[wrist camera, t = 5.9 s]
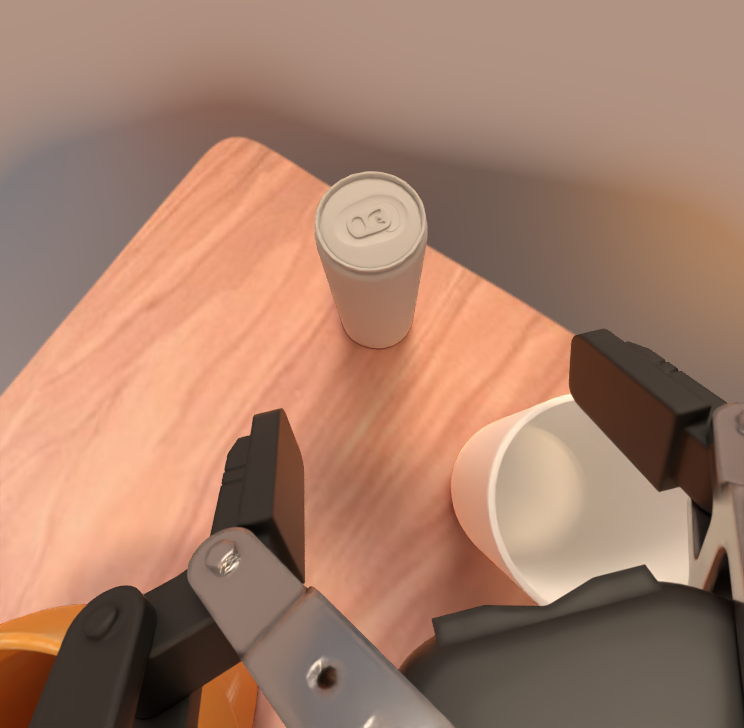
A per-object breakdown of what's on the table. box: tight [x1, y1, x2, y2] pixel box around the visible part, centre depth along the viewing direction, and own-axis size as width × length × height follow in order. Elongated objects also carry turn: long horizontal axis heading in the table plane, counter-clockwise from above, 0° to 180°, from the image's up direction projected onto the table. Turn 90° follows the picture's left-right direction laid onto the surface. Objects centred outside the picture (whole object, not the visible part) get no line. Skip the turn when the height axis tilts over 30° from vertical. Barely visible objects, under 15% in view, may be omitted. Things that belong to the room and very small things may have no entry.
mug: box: [451, 394, 689, 606], centre depth 21 cm, size 9×12×11 cm
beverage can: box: [315, 172, 427, 348], centre depth 23 cm, size 5×5×12 cm
